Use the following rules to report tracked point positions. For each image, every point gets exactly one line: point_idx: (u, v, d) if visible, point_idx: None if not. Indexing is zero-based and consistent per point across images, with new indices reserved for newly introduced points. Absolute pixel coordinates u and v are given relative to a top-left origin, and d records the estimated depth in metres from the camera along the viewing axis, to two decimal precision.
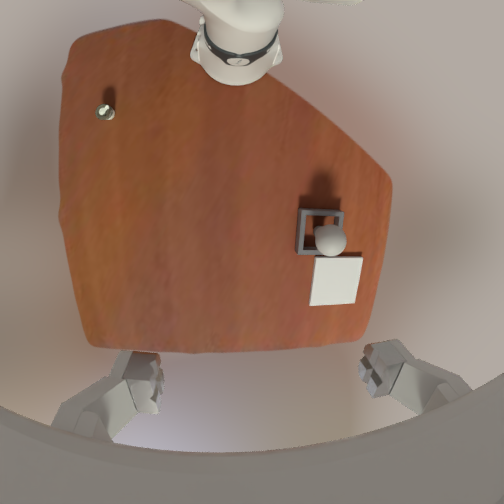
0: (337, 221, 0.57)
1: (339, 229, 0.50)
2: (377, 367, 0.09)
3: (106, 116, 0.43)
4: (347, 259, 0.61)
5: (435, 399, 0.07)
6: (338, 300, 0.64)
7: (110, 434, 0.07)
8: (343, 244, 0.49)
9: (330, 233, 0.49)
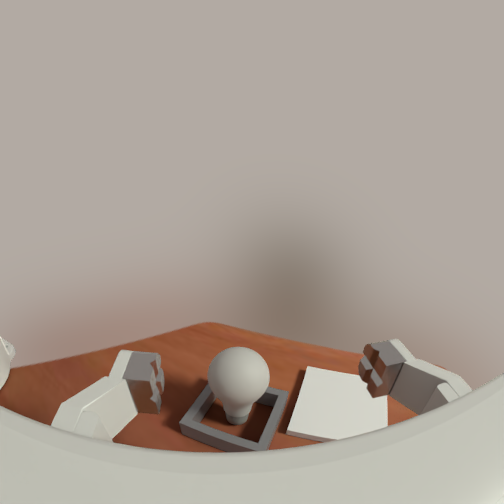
0: None
1: None
2: (377, 366, 0.09)
3: None
4: (305, 385, 0.33)
5: (435, 399, 0.07)
6: (380, 401, 0.29)
7: (110, 434, 0.07)
8: (245, 348, 0.26)
9: (216, 362, 0.24)
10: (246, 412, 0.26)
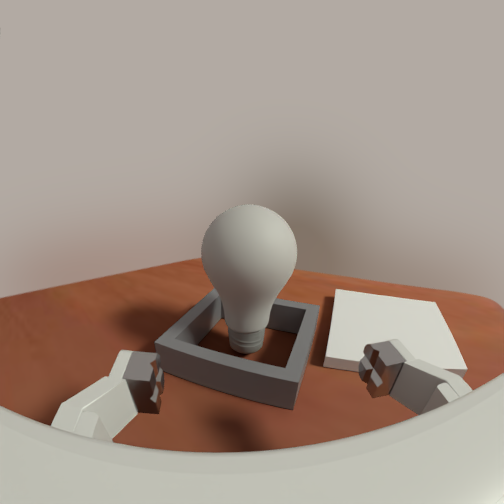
0: None
1: None
2: (377, 367, 0.09)
3: None
4: (338, 306, 0.25)
5: (435, 399, 0.07)
6: (437, 322, 0.22)
7: (110, 434, 0.07)
8: None
9: (215, 220, 0.17)
10: (262, 323, 0.18)
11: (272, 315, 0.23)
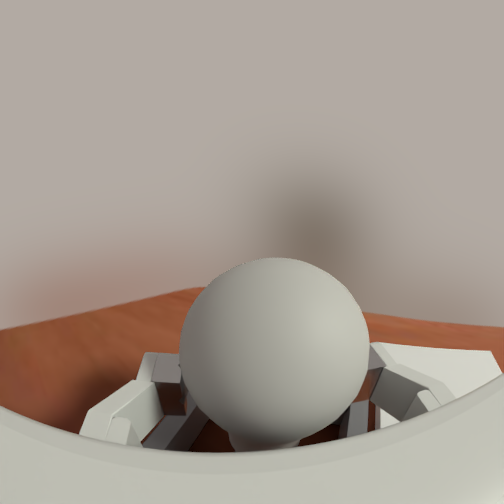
0: None
1: None
2: None
3: None
4: None
5: (415, 407, 0.07)
6: None
7: None
8: None
9: (204, 298, 0.07)
10: None
11: None
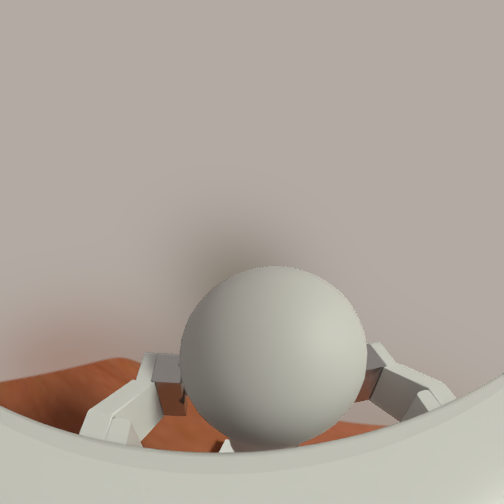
0: None
1: None
2: None
3: None
4: None
5: (415, 407, 0.07)
6: None
7: None
8: None
9: (203, 308, 0.08)
10: None
11: None
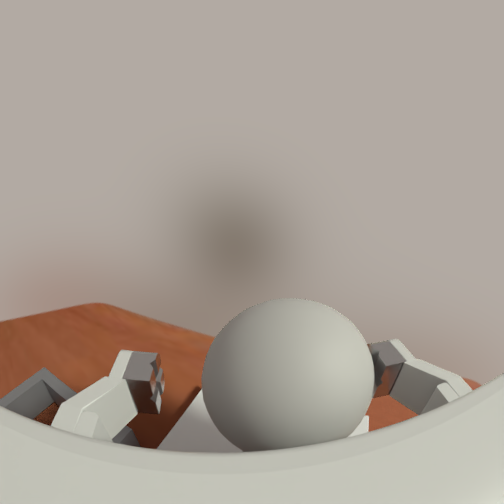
0: (54, 393, 0.14)
1: None
2: (377, 366, 0.09)
3: None
4: (186, 420, 0.15)
5: (435, 399, 0.07)
6: None
7: (110, 434, 0.07)
8: (306, 300, 0.10)
9: (227, 340, 0.08)
10: None
11: None
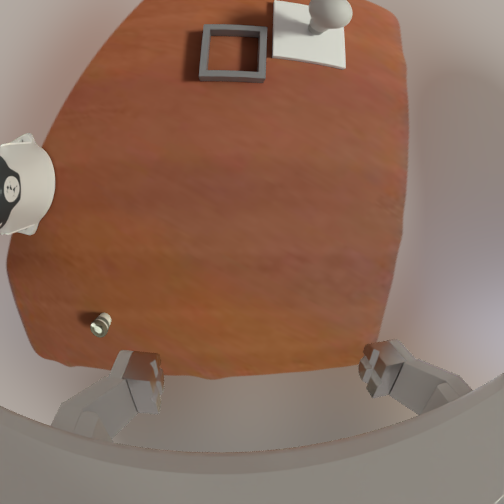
0: (218, 31, 0.31)
1: None
2: (377, 366, 0.09)
3: (103, 325, 0.42)
4: (277, 17, 0.31)
5: (435, 399, 0.07)
6: (338, 31, 0.33)
7: (110, 434, 0.07)
8: None
9: (323, 6, 0.23)
10: (328, 28, 0.30)
11: (241, 33, 0.32)
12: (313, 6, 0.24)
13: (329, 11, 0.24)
